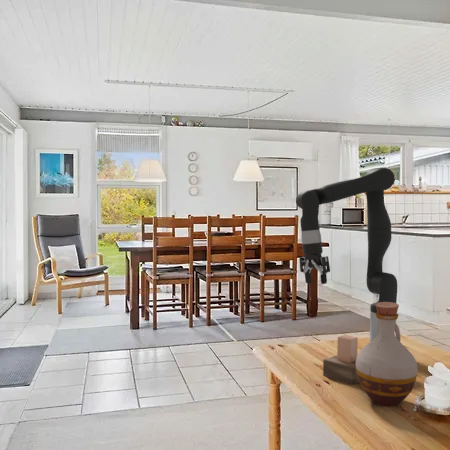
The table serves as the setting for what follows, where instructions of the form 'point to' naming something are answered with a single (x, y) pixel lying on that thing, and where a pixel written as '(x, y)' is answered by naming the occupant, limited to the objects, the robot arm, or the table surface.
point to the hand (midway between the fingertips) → (316, 283)
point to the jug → (386, 361)
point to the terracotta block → (347, 348)
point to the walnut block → (340, 370)
